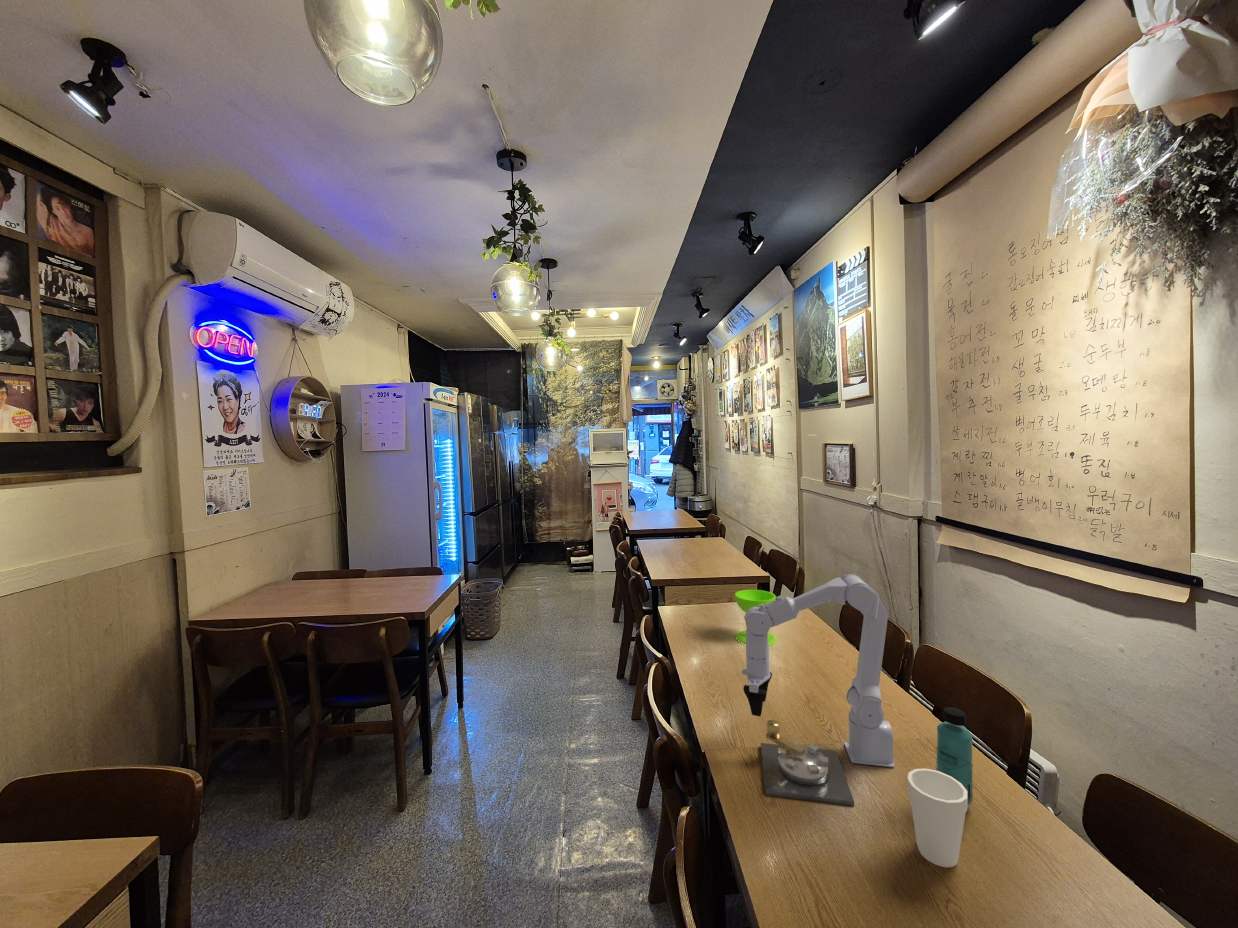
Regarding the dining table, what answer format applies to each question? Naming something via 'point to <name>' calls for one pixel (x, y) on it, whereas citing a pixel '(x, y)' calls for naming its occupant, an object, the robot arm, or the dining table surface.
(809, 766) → the metal round piece
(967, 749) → the beverage bottle
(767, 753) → the dark grey square plate
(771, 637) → the wineglass
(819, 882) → the dining table surface
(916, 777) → the foam cup
